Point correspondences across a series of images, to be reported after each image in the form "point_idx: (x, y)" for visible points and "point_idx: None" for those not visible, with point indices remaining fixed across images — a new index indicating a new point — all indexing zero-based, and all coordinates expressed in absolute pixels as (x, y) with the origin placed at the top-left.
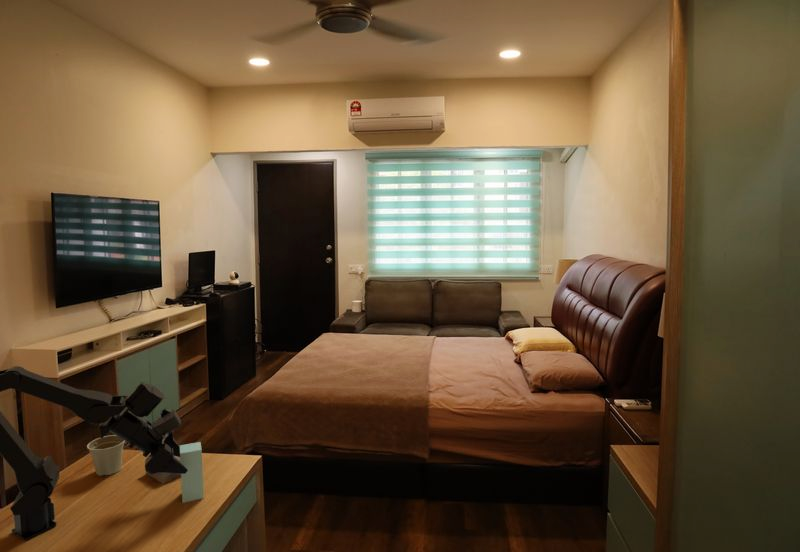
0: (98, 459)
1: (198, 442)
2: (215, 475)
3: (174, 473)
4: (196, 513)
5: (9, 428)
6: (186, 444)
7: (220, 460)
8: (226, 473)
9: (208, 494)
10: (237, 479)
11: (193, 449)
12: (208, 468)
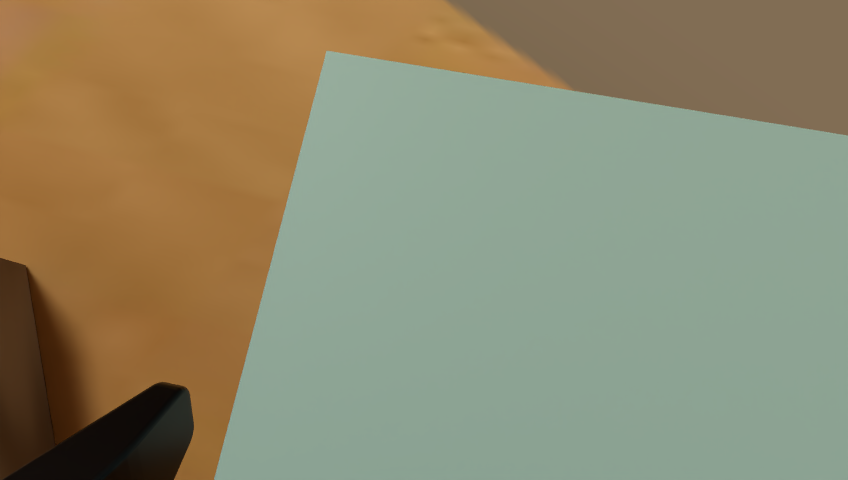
0: None
1: (337, 103)
2: (252, 132)
3: (20, 458)
4: None
5: None
6: (239, 427)
7: (18, 30)
8: (280, 49)
9: None
10: (440, 6)
11: (759, 336)
12: (85, 148)
